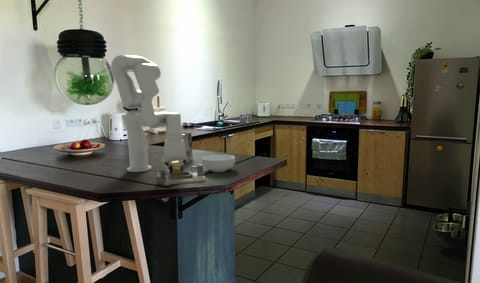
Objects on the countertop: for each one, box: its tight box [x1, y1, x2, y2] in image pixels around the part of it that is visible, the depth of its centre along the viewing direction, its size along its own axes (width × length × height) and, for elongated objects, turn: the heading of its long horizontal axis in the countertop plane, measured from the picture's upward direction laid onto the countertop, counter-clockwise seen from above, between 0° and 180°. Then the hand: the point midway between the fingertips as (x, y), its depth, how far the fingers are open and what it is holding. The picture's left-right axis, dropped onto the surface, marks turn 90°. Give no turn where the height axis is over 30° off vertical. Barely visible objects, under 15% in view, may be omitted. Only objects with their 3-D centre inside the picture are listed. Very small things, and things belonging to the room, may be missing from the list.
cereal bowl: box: [201, 154, 236, 173], centre depth 187 cm, size 17×17×7 cm
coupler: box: [171, 161, 182, 173], centre depth 181 cm, size 4×8×6 cm, turn 21°
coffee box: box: [178, 132, 194, 164], centre depth 211 cm, size 9×6×16 cm
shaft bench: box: [155, 163, 207, 186], centre depth 170 cm, size 12×22×6 cm, turn 111°
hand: (176, 173), depth 181 cm, fingers closed on coupler, 4 cm apart
